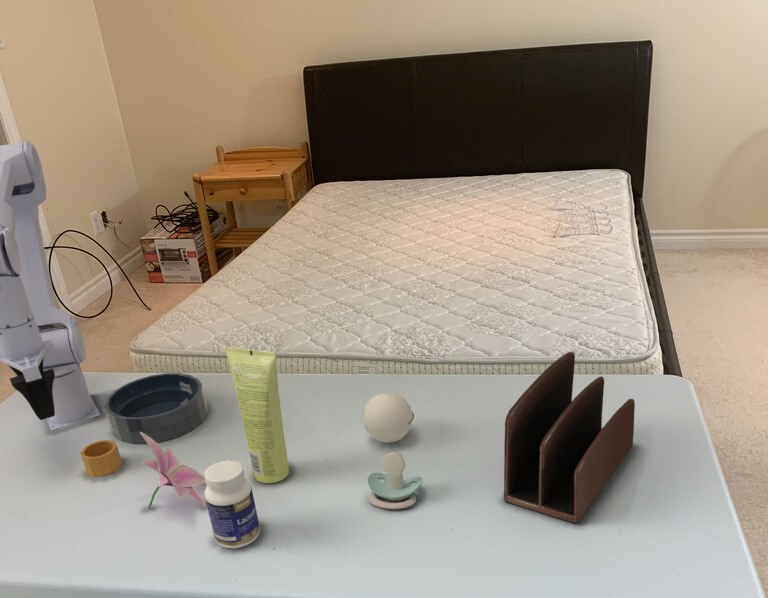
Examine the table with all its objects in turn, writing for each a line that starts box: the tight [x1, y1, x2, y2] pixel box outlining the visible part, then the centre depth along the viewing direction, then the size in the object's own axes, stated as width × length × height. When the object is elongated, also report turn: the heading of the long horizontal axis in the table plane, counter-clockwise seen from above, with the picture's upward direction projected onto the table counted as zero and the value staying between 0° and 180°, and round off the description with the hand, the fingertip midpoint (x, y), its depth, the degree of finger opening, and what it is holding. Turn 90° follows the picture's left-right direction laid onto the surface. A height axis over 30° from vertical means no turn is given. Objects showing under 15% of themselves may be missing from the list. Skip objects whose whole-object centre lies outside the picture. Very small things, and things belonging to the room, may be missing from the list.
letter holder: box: [503, 351, 636, 524], centre depth 98 cm, size 10×20×14 cm, turn 145°
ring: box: [80, 439, 123, 478], centre depth 112 cm, size 5×5×4 cm
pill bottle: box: [203, 460, 261, 549], centre depth 94 cm, size 6×6×10 cm
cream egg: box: [362, 392, 415, 444], centre depth 112 cm, size 10×7×7 cm
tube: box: [224, 346, 290, 484], centre depth 103 cm, size 6×5×20 cm
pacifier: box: [367, 451, 424, 510], centre depth 98 cm, size 7×6×6 cm
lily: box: [140, 432, 207, 510], centre depth 102 cm, size 12×12×10 cm
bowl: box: [104, 372, 209, 445], centre depth 123 cm, size 15×15×5 cm
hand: (43, 406), depth 111 cm, fingers open, 7 cm apart
